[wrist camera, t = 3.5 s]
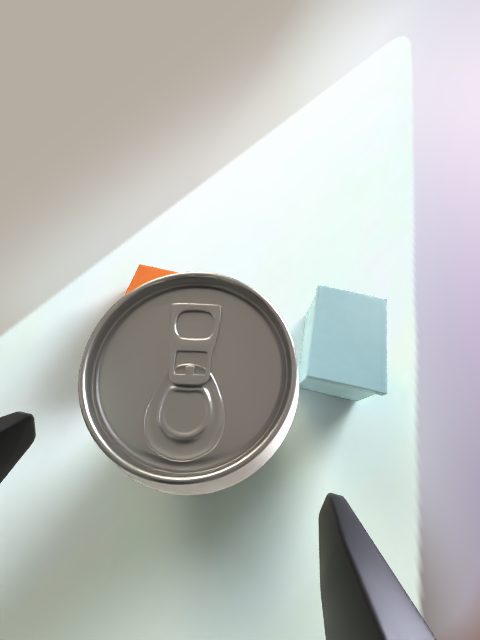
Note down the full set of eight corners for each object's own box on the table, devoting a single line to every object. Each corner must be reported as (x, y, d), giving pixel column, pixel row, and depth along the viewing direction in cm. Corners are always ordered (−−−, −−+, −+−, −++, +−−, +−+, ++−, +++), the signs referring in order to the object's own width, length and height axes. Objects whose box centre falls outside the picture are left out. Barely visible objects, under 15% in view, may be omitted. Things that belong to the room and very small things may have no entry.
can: (157, 468, 16) (17, 506, 6) (171, 364, 19) (95, 255, 8) (264, 471, 17) (328, 513, 6) (263, 367, 19) (304, 263, 9)
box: (359, 404, 18) (387, 394, 15) (293, 388, 19) (307, 375, 15) (362, 322, 21) (387, 298, 18) (304, 309, 21) (318, 284, 18)
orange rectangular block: (158, 354, 20) (151, 345, 18) (115, 343, 20) (104, 334, 18) (184, 285, 22) (180, 271, 20) (145, 277, 22) (138, 262, 21)
